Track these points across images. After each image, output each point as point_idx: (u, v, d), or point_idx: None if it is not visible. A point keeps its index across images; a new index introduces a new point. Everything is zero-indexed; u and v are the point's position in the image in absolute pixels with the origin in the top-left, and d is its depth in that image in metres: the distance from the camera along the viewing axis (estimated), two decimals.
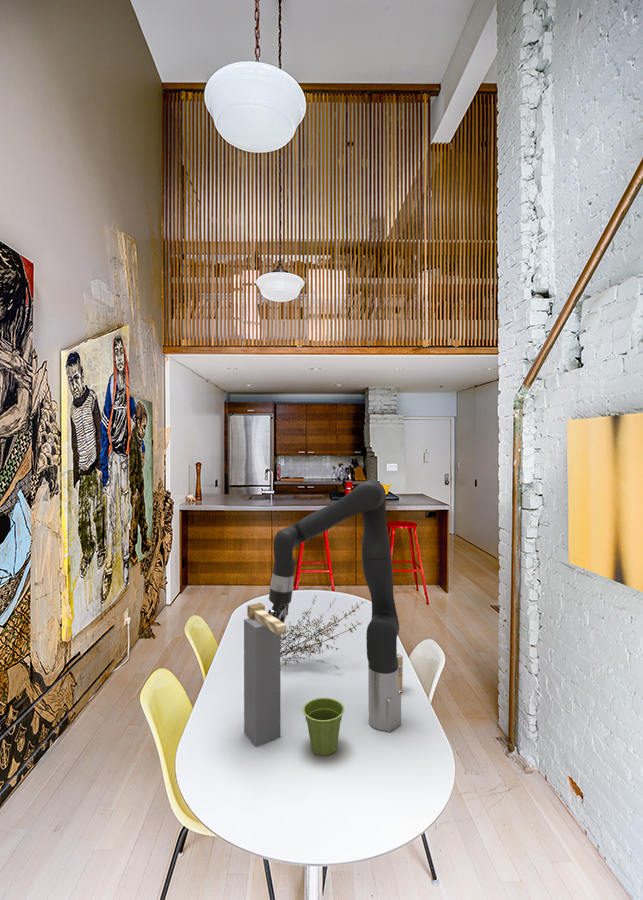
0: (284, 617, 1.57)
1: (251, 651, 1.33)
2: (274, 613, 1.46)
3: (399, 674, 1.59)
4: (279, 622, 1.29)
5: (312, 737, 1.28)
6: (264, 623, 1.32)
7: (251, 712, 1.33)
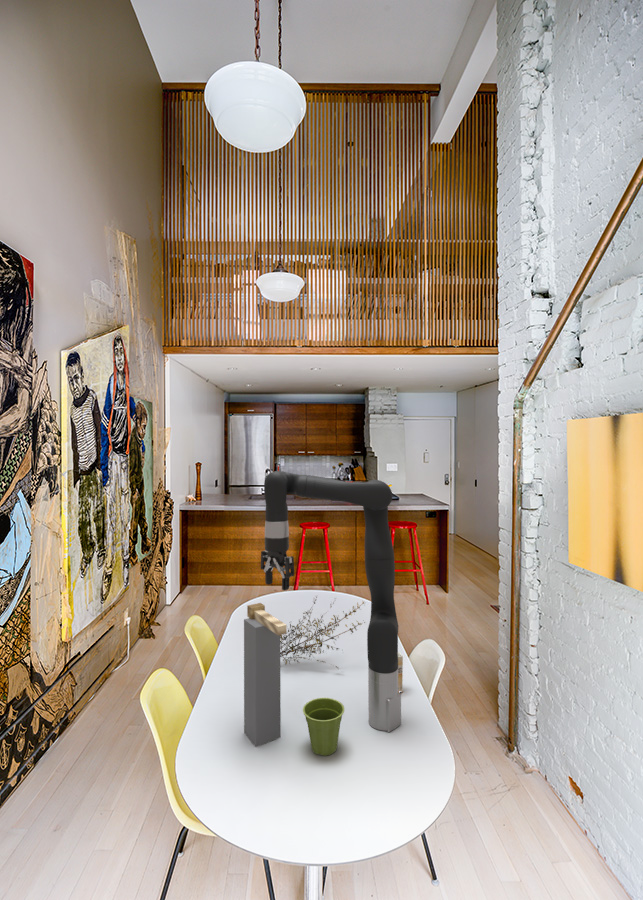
0: (272, 568, 1.47)
1: (251, 651, 1.33)
2: (292, 558, 1.39)
3: (399, 674, 1.59)
4: (279, 622, 1.29)
5: (312, 737, 1.28)
6: (264, 623, 1.32)
7: (251, 712, 1.33)
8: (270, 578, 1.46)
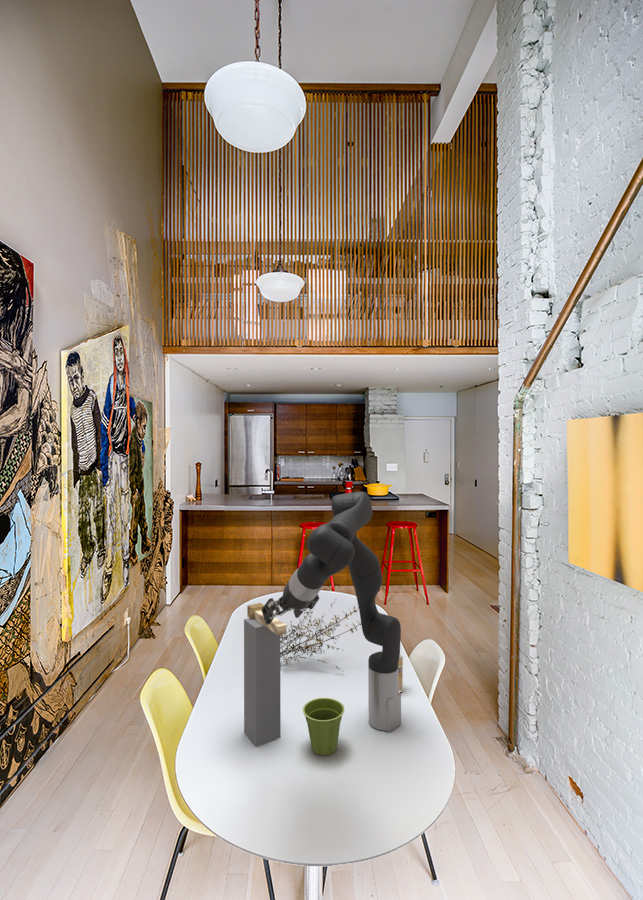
0: None
1: (251, 651, 1.33)
2: None
3: (399, 674, 1.59)
4: (279, 622, 1.29)
5: (312, 737, 1.28)
6: (264, 623, 1.32)
7: (251, 712, 1.33)
8: None
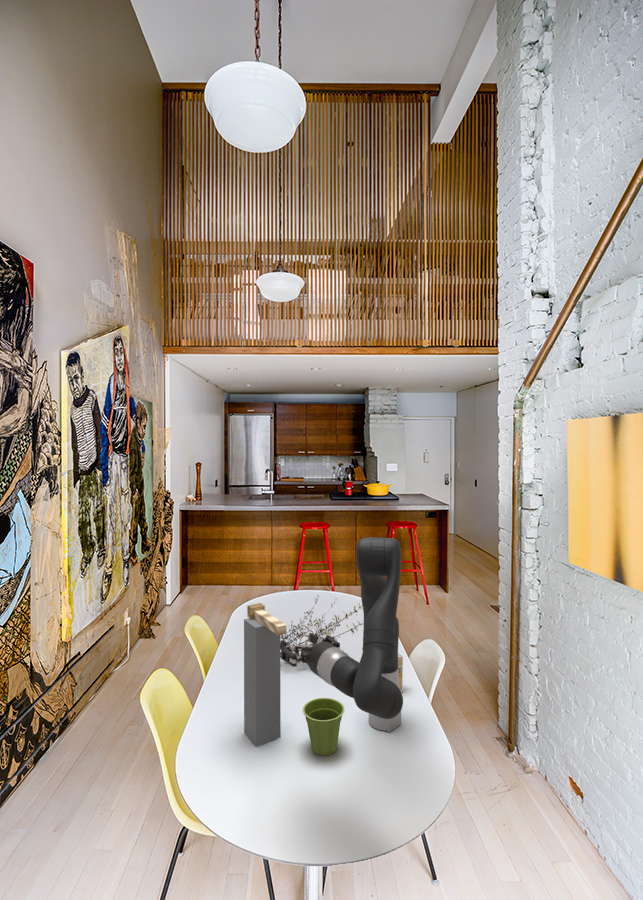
0: (292, 645, 1.14)
1: (251, 651, 1.33)
2: None
3: (399, 674, 1.59)
4: (279, 622, 1.29)
5: (312, 737, 1.28)
6: (264, 623, 1.32)
7: (251, 712, 1.33)
8: None
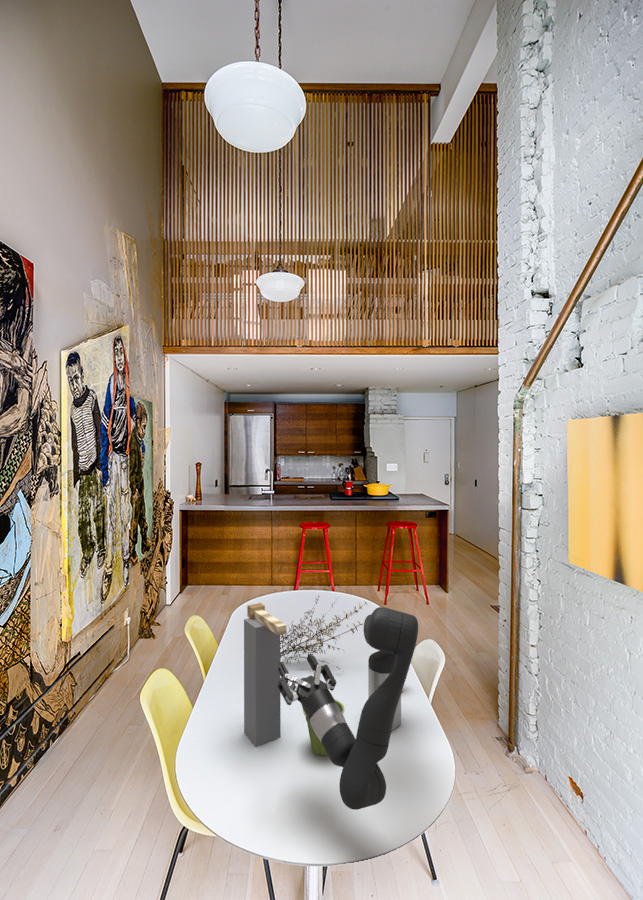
0: None
1: (251, 651, 1.33)
2: None
3: None
4: (279, 622, 1.29)
5: (312, 737, 1.28)
6: (264, 623, 1.32)
7: (251, 712, 1.33)
8: None
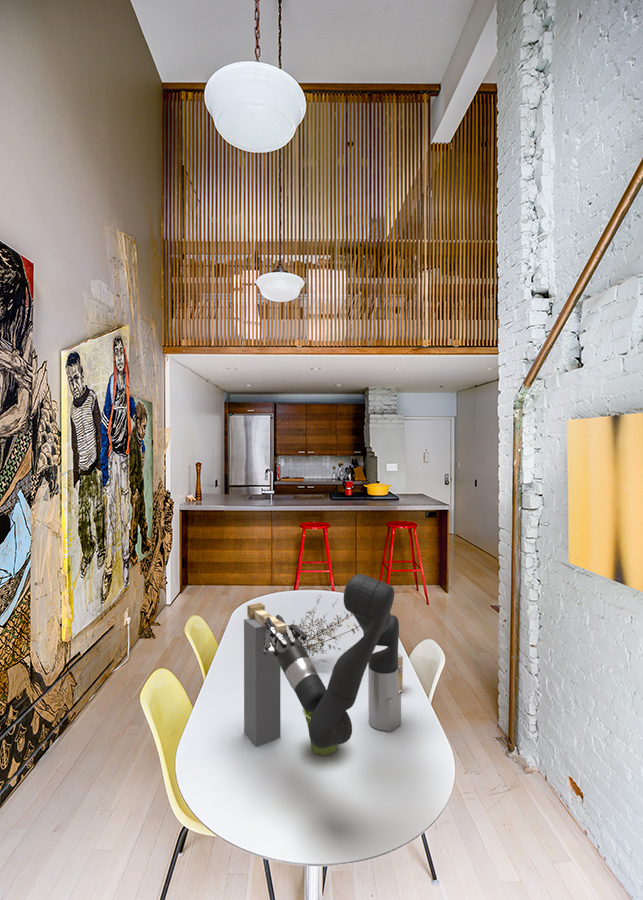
0: None
1: (251, 651, 1.33)
2: None
3: (399, 674, 1.59)
4: (279, 622, 1.29)
5: None
6: (264, 623, 1.32)
7: (251, 712, 1.33)
8: None
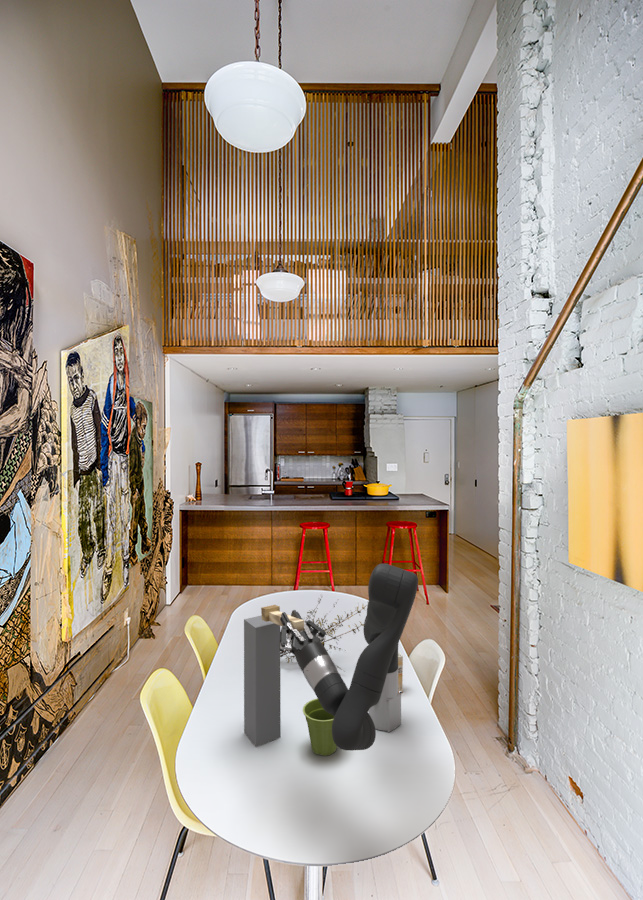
0: (292, 626, 1.19)
1: (251, 651, 1.33)
2: None
3: (399, 674, 1.59)
4: (296, 619, 1.21)
5: (312, 737, 1.28)
6: (280, 622, 1.24)
7: (251, 712, 1.33)
8: None
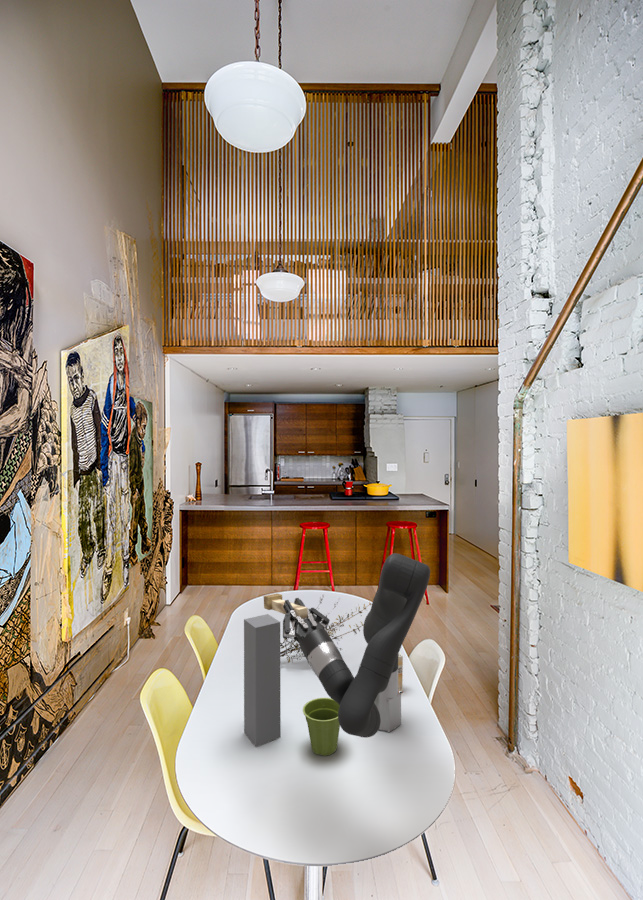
0: None
1: (251, 651, 1.33)
2: None
3: (399, 674, 1.59)
4: (299, 606, 1.19)
5: (312, 737, 1.28)
6: (283, 610, 1.23)
7: (251, 712, 1.33)
8: None
